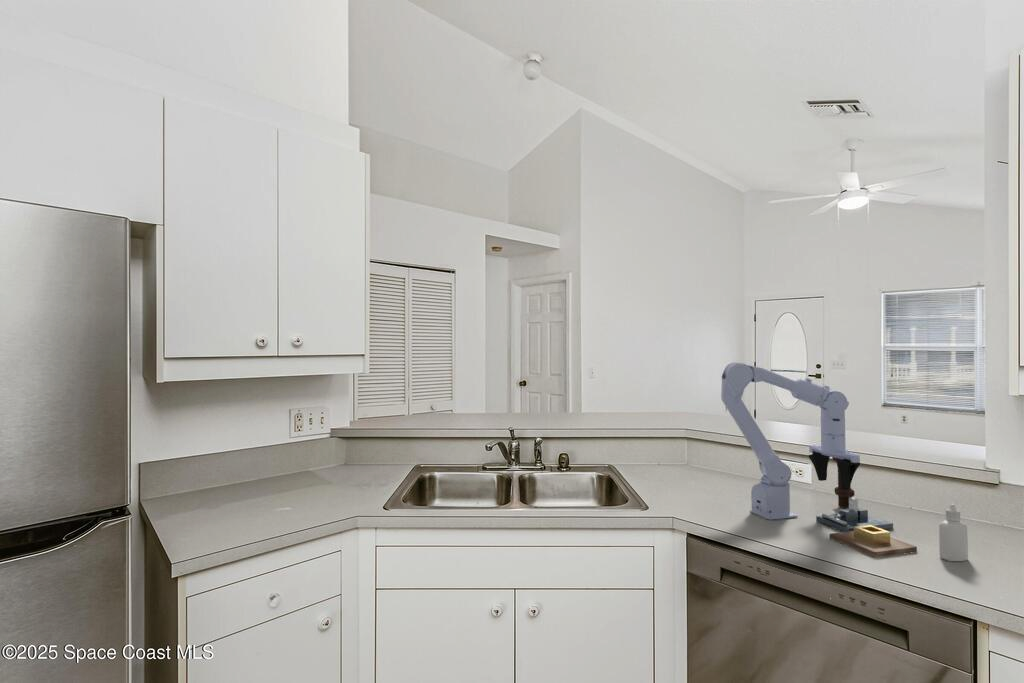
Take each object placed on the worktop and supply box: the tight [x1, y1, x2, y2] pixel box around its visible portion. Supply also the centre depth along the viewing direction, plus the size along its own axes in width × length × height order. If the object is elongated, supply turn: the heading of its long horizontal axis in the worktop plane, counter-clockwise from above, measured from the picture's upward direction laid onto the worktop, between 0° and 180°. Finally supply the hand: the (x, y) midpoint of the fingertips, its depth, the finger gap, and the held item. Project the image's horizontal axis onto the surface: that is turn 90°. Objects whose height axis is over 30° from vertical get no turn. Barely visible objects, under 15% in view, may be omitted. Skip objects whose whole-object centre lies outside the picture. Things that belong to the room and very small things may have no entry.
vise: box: [815, 497, 894, 532], centre depth 136 cm, size 14×10×7 cm
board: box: [829, 531, 918, 559], centre depth 122 cm, size 12×12×1 cm
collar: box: [854, 525, 891, 545], centre depth 122 cm, size 5×5×2 cm
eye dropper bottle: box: [938, 503, 969, 562], centre depth 114 cm, size 4×6×12 cm
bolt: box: [831, 457, 855, 509], centre depth 151 cm, size 6×5×15 cm
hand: (833, 483), depth 142 cm, fingers open, 7 cm apart
